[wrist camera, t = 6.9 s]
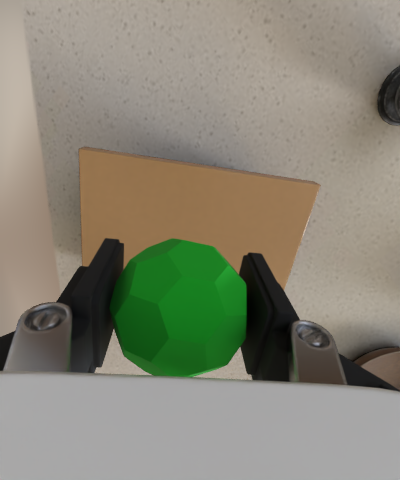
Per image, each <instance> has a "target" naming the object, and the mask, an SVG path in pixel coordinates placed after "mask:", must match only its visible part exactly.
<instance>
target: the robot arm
mask: <svg viewBox="0 0 400 480" xmlns="http://www.w3.org/2000/svg"><path fill="white" fill-rule="evenodd" d="M123 270H124V243H120V241H119V239H111V238H105V239H104V241H103V243H102V244H101V246H100V248H99V249H98V251H97V253H96V254H95V256H94V258H93V259H92V261H91V263H90V264H89V266H80V267H79V268H78V269H77V271H76V272H75V274H74V276H73V277H72V279H71V280H70V282H69V283H68V285H67V286H66V288H65V289H64V291H63V292H62V294H61V296H60V297H59V299H58V300H57V302H48V303H43V304H39V305H36V306H34V307H32V308H30V309H29V310H27V311H25V313H23V314H22V315H21V317H20V319H19V321H18V324H17V327H16V330H15V331H14V332H11V333H9V334H7V335H4V336H2V337H0V480H400V390H398V389H397V388H395V387H394V386H392V385H391V384H389V383H387V382H386V381H384V380H382V379H381V378H379V377H377V376H376V375H374V374H372V373H371V372H369V371H367V370H366V369H364V368H362V367H361V366H359V365H357V364H356V363H354V362H352V361H351V360H349V359H347V358H345V357H344V356H342V355H340V354H339V353H338V351H337V347H336V344H335V341H334V339H333V337H332V335H331V334H330V333H329V332H328V331H327V330H326V329H325V328H323V327H322V326H320V325H318V324H316V323H314V322H311V321H306V320H300V319H299V317H298V315H297V314H296V312H295V310H294V308H293V306H292V305H291V303H290V301H289V299H288V297H287V296H286V294H285V292H284V290H283V288H282V287H281V285H280V284H279V283H278V282H277V281H276V279H275V277H274V275H273V273H272V271H271V270H270V268H269V266H268V264H267V262H266V260H265V259H264V257H263V255H262V254H261V253H251V252H249V253H248V254H247V255H244V256H243V259H242V263H241V267H240V271H239V275H240V277H241V278H242V279H243V280H244V281H245V283H246V295H247V320H246V339H245V340H244V342H243V343H242V344H241V346H240V347H241V351H242V355H243V359H244V363H245V367H246V371H247V374H251V375H252V379H253V380H241V379H219V378H197V377H175V376H152V375H126V374H101V373H94V372H95V369H96V367H102V364H103V361H104V358H105V355H106V351H107V348H108V345H109V342H110V339H111V335H112V332H113V329H114V326H113V322H112V317H111V313H110V309H109V308H110V303H111V299H112V295H113V292H114V288H115V285H116V281H117V280H118V278H119V276H120V275H121V273H122V271H123Z"/></svg>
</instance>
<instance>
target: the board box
mask: <svg viewBox="0 0 400 480" xmlns="http://www.w3.org/2000/svg"><path fill="white" fill-rule="evenodd" d="M79 175H80V209H81V244H82V266H89V264H90V263H91V261H92V259H93V258H94V256H95V254H96V253H97V251H98V249H99V248H100V246H101V244H102V243H103V241H104V239H105V238H111V239H119V241H120V243H124V268H125V267H126V265H127V263H128V262H129V260H130V259H132V258H133V257H135V256H136V255H137V254H139V253H140V252H142V251H143V250H145V249H146V248H148V247H150V246H153V245H155V244H158V243H161V242H163V241H166V240H169V239H171V238H175V239H181V240H187V241H191V242H196V243H201V244H205V245H210V246H213V247H215V248H216V249H217V250H218V251H219V252H220V253H221V255H222V256H223V257H224V258H225V259H226V260H227V261H228V262H229V264H230V265H231V266H232V267H233V268H234V269H235V271H236V272H237V273H238V274H239V271H240V267H241V263H242V259H243V256H244V255H247V254H248V253H249V252H251V253H261V254H262V255H263V257H264V259H265V260H266V262H267V264H268V266H269V268H270V270H271V271H272V273H273V275H274V277H275V279H276V281H277V282H278V283H279V284H280V285H281V287H282V288H283V290H284V289H285V286H286V283H287V280H288V277H289V274H290V272H291V269H292V266H293V263H294V260H295V257H296V254H297V252H298V249H299V246H300V243H301V240H302V237H303V234H304V232H305V229H306V226H307V223H308V220H309V217H310V214H311V212H312V209H313V206H314V203H315V200H316V197H317V194H318V192H319V189H320V186H321V185H319V184H317V183H316V182H314V181H307V180H301V179H294V178H287V177H281V176H274V175H268V174H261V173H254V172H248V171H241V170H235V169H228V168H222V167H215V166H208V165H202V164H195V163H189V162H182V161H176V160H169V159H162V158H156V157H149V156H143V155H136V154H130V153H123V152H116V151H110V150H103V149H97V148H90V147H82V148H80V149H79Z"/></svg>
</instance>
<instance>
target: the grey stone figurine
mask: <svg viewBox="0 0 400 480" xmlns="http://www.w3.org/2000/svg"><path fill="white" fill-rule="evenodd" d="M378 111H379V113H380V116H381V117H382V119H383V120H384V121H385V122H387V123H389V124H391V125H396V126H399V125H400V66H399V67H397V68H396V69H395V70H393V71H392V73H391V74H390V75H389V76H388V77H387V78H386V80H385V81H384V83H383V85H382V87H381V89H380V92H379V96H378Z"/></svg>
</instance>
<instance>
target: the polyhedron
mask: <svg viewBox="0 0 400 480" xmlns="http://www.w3.org/2000/svg"><path fill="white" fill-rule="evenodd" d="M109 309H110V313H111V317H112V322H113V326H114V330H115V333H116V335H117V338H118V341H119V344H120V347H121V349H122V352H123V355H124V356H125V357H126V358H127V359H129V360H130V361H131V362H133V363H134V364H136V365H137V366H138V367H140V368H141V369H143V370H144V371H146V372H148V373H150V374H152V375H154V376H175V377H194V376H197V375H200V374H203V373H206V372H210V371H213V370H216V369H219V368H221V367H223V366H226V365H227V364H228V363H229V361H230V360H231V359H232V357H233V356H234V354H235V353H236V352H237V350H238V349H239V347H240V346H241V344H242V343H243V342H244V340H245V339H246V320H247V295H246V283H245V281H244V280H243V279H242V278H241V277H240V275H239V274H238V273H237V272H236V271H235V269H234V268H233V267H232V266H231V265H230V264H229V262H228V261H227V260H226V259H225V258H224V257H223V256H222V255H221V253H220V252H219V251H218V250H217V249H216V248H215V247H213V246H210V245H205V244H201V243H196V242H191V241H187V240H181V239H175V238H171V239H169V240H166V241H163V242H161V243H158V244H155V245H153V246H150V247H148V248H146V249H145V250H143V251H142V252H140V253H139V254H137V255H136V256H135V257H133V258H132V259H130V260H129V262H128V263H127V265H126V267H125V268H124V270H123V271H122V273H121V275H120V276H119V278H118V280H117V281H116V285H115V288H114V292H113V295H112V299H111V303H110V308H109Z"/></svg>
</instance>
